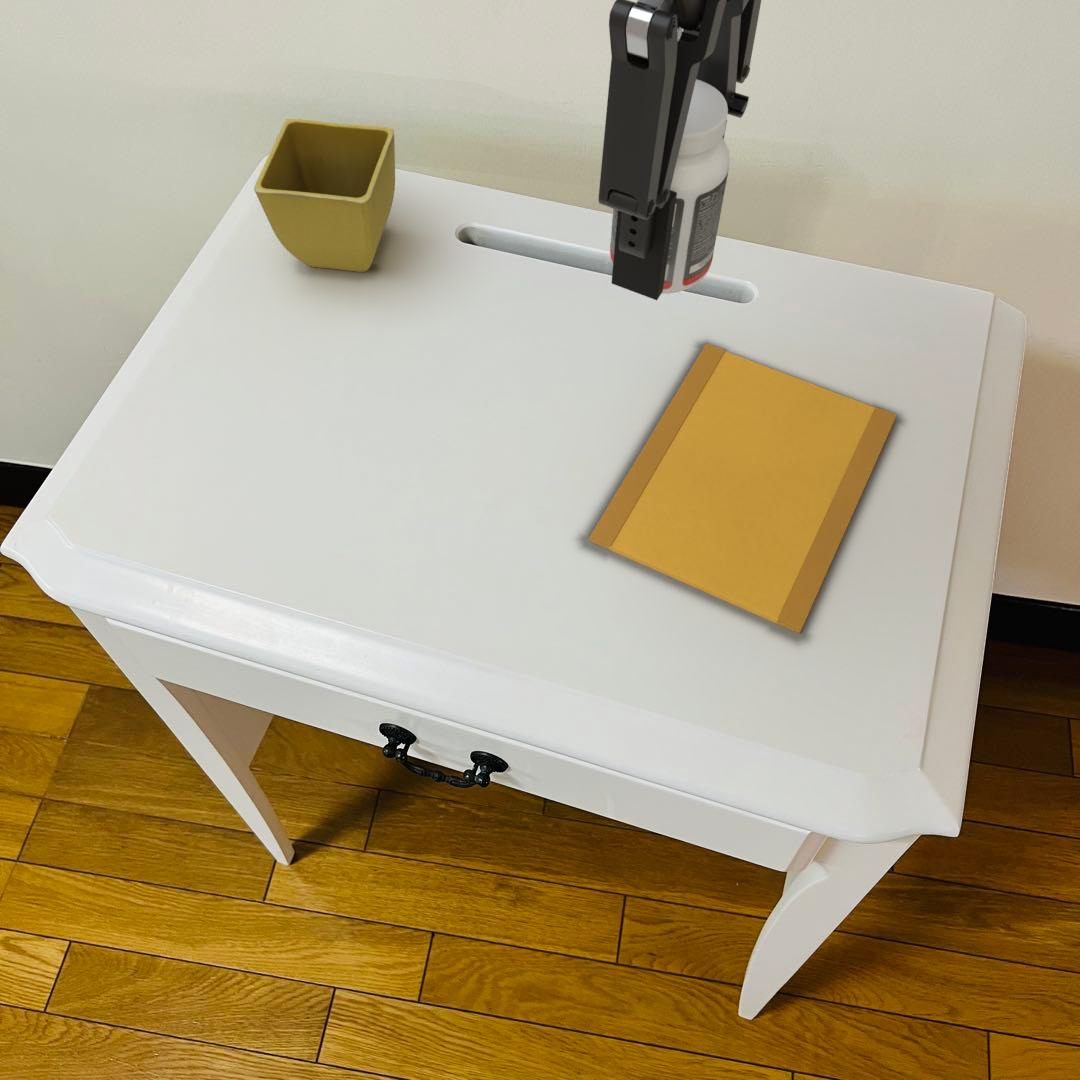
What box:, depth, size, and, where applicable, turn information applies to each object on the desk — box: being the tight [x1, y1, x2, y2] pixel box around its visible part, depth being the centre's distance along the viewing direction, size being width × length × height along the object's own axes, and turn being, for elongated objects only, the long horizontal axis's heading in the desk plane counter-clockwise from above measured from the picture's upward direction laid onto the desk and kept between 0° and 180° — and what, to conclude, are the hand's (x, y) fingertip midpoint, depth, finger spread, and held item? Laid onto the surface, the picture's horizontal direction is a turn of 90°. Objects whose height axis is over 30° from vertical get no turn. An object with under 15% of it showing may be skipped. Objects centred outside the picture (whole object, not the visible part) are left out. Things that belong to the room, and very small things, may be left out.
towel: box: [589, 343, 898, 634], centre depth 73 cm, size 15×20×1 cm
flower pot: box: [253, 118, 396, 273], centre depth 82 cm, size 9×9×9 cm
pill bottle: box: [609, 79, 731, 295], centre depth 54 cm, size 6×6×10 cm
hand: (661, 250), depth 58 cm, fingers closed on pill bottle, 6 cm apart
